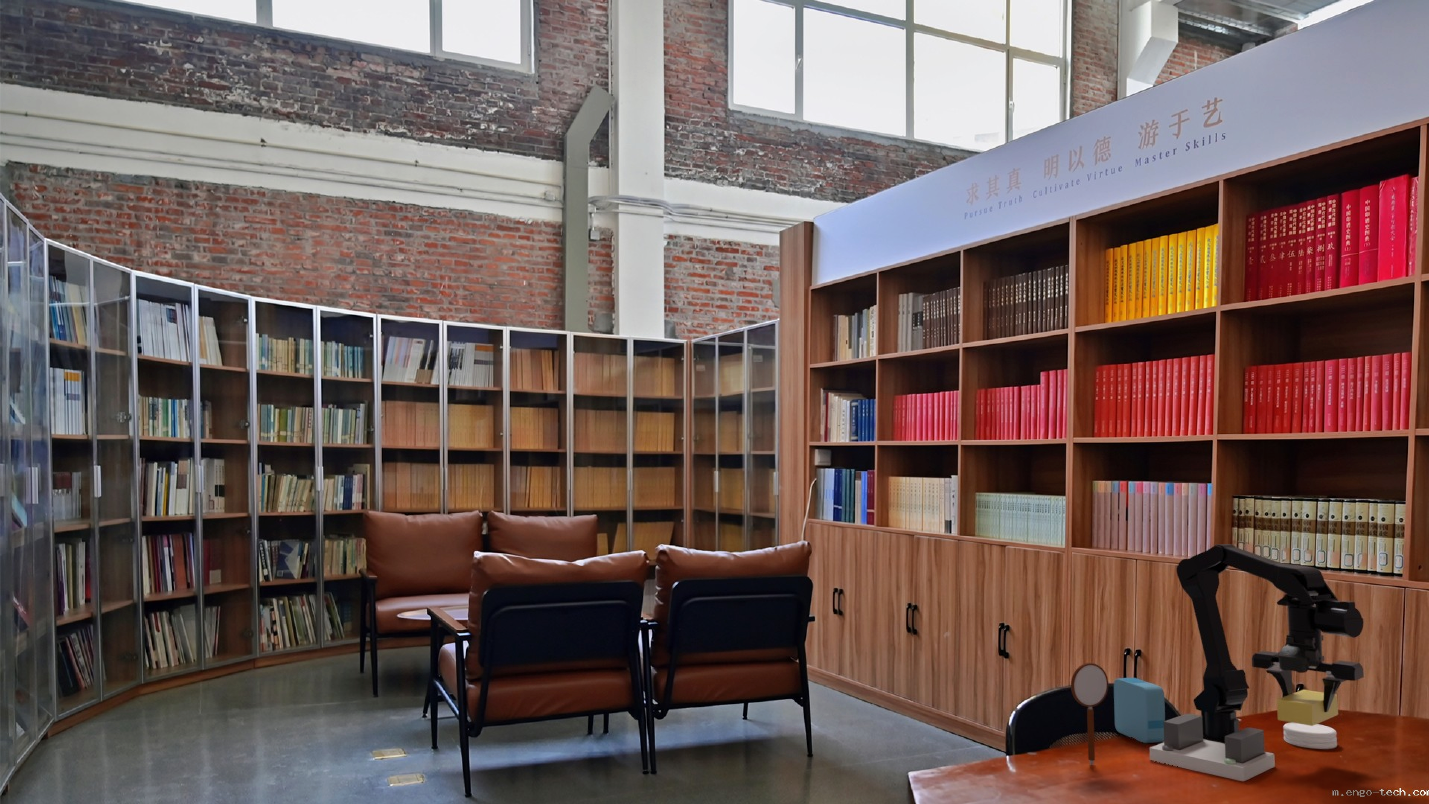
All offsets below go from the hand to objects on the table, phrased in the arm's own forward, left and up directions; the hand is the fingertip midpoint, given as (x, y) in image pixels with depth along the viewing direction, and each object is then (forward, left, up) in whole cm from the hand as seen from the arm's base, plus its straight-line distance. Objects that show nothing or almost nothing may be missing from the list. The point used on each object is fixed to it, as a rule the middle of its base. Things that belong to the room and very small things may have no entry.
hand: (1307, 708), depth 199 cm
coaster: (-6, +18, -11) cm, 22 cm away
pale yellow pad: (0, 0, -2) cm, 2 cm away
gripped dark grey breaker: (-7, -13, -9) cm, 18 cm away
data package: (-32, -6, -11) cm, 34 cm away
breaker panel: (-13, -14, -11) cm, 22 cm away
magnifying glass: (-28, -34, -11) cm, 45 cm away
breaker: (-19, -13, -9) cm, 25 cm away
